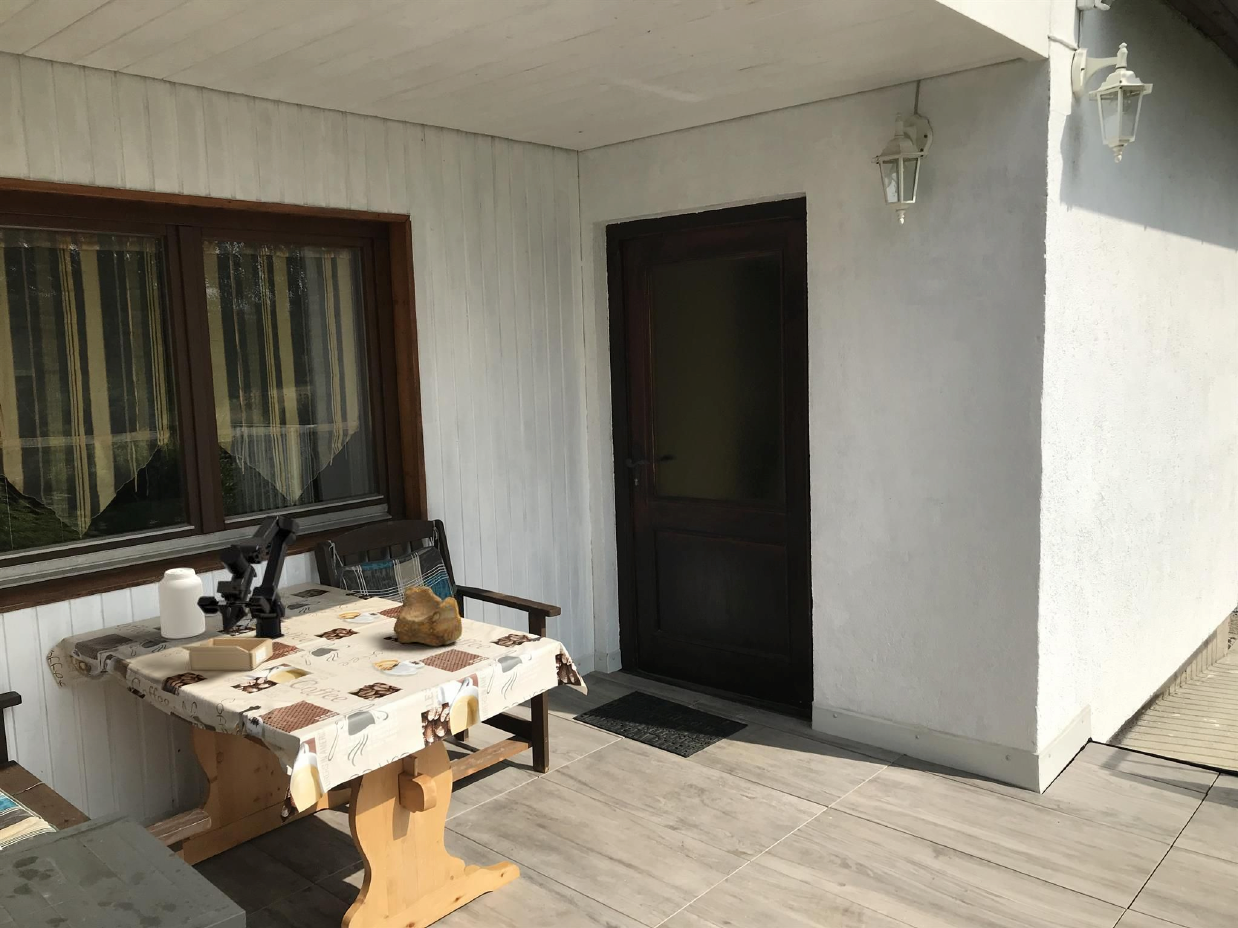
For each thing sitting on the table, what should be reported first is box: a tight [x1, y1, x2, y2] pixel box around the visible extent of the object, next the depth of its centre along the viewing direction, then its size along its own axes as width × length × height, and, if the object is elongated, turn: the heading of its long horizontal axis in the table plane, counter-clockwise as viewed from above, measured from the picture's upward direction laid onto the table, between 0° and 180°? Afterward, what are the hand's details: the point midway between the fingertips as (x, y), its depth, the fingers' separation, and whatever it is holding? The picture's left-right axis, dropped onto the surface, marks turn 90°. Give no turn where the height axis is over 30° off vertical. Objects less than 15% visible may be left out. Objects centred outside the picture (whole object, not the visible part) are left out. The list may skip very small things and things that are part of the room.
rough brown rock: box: [393, 585, 463, 648], centre depth 292 cm, size 23×16×15 cm
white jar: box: [157, 567, 206, 640], centre depth 303 cm, size 12×12×20 cm
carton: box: [188, 637, 274, 671], centre depth 275 cm, size 14×18×5 cm
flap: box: [178, 645, 248, 653], centre depth 264 cm, size 1×16×7 cm
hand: (225, 632), depth 271 cm, fingers closed
